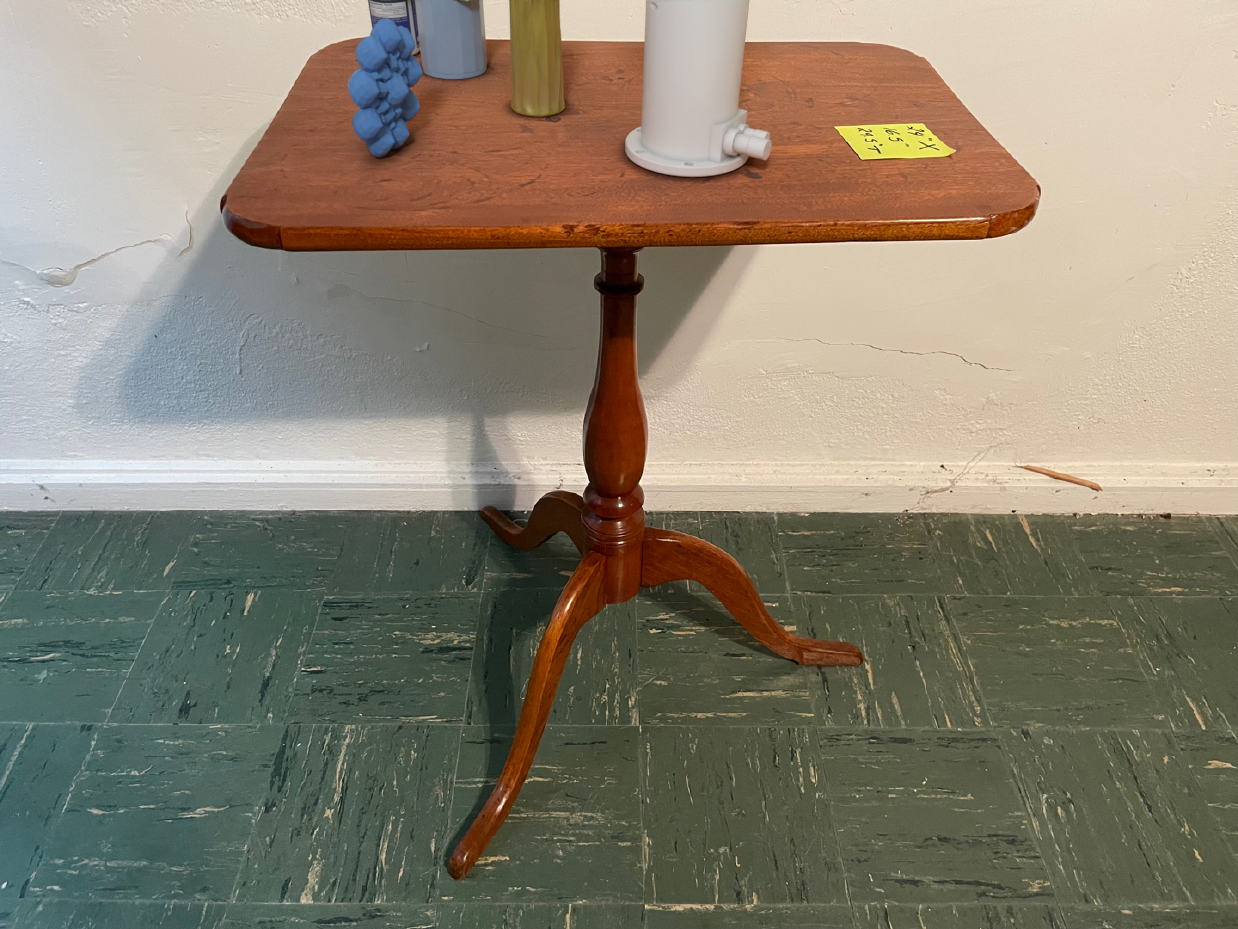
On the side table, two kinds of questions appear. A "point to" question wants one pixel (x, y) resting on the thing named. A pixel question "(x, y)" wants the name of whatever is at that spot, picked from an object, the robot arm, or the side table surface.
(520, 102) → the vase
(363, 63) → the grapes
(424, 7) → the cup
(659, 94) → the robot arm
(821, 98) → the side table surface
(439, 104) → the side table surface
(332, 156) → the side table surface
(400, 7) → the pill bottle
